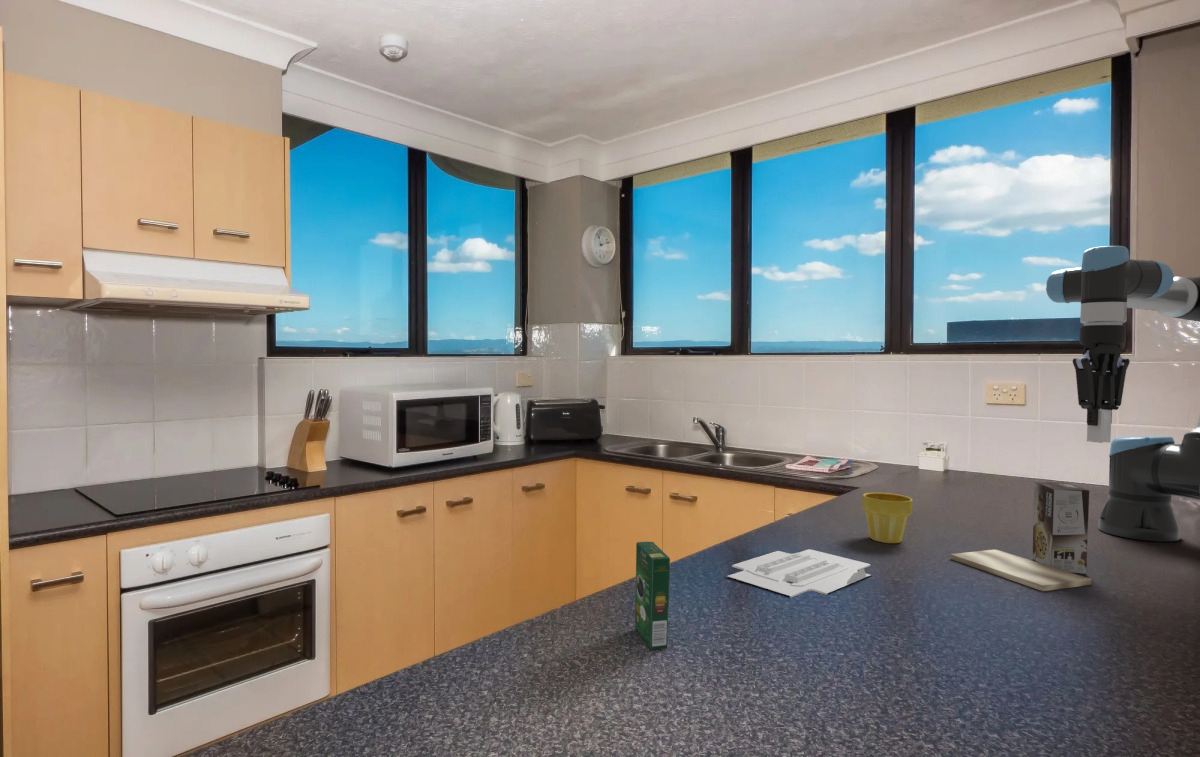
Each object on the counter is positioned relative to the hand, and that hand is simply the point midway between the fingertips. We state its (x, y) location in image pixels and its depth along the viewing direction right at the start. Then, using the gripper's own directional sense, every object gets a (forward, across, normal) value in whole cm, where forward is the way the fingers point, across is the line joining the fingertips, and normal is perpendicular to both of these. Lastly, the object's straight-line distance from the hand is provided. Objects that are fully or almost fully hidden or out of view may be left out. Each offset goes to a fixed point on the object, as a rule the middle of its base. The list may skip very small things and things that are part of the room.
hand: (1098, 441), depth 137 cm
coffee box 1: (+25, +101, +8) cm, 104 cm away
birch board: (+24, +21, 0) cm, 32 cm away
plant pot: (+25, +29, -26) cm, 46 cm away
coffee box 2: (+25, +10, 0) cm, 27 cm away
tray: (+25, +62, -12) cm, 68 cm away
